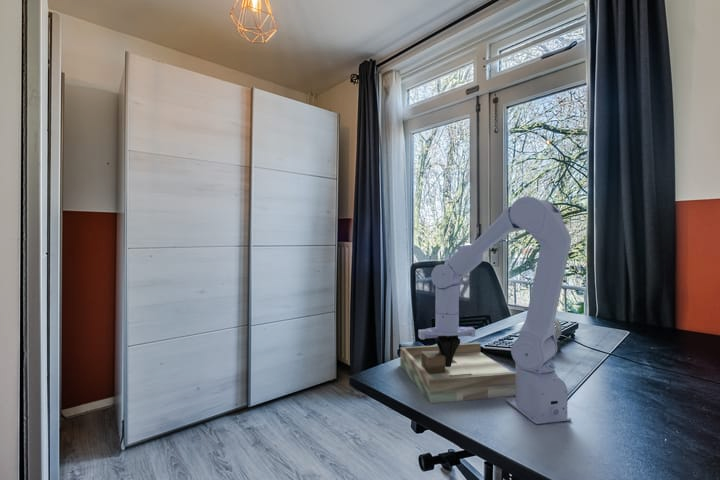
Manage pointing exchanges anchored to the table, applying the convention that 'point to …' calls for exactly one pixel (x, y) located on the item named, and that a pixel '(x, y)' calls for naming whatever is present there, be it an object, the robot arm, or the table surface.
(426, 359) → the block
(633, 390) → the table surface
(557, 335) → the watch
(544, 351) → the robot arm
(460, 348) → the board
